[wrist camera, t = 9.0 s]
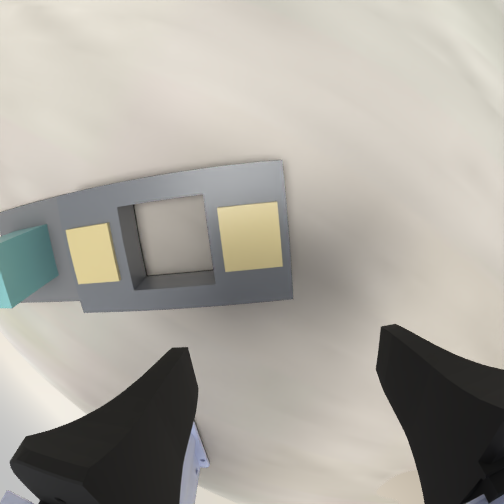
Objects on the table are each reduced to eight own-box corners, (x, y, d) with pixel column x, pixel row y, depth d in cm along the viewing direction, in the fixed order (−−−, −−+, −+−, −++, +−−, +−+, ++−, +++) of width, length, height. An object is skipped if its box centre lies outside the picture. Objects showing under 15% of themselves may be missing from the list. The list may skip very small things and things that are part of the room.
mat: (88, 298, 21) (86, 300, 21) (21, 300, 21) (19, 302, 21) (65, 194, 19) (62, 195, 18) (-1, 212, 19) (-4, 213, 19)
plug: (58, 275, 20) (6, 312, 14) (25, 278, 20) (-25, 311, 14) (47, 224, 19) (-13, 248, 13) (14, 231, 19) (-42, 255, 13)
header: (288, 283, 20) (294, 301, 18) (98, 297, 21) (81, 314, 18) (278, 160, 18) (282, 159, 15) (75, 192, 19) (53, 197, 16)
